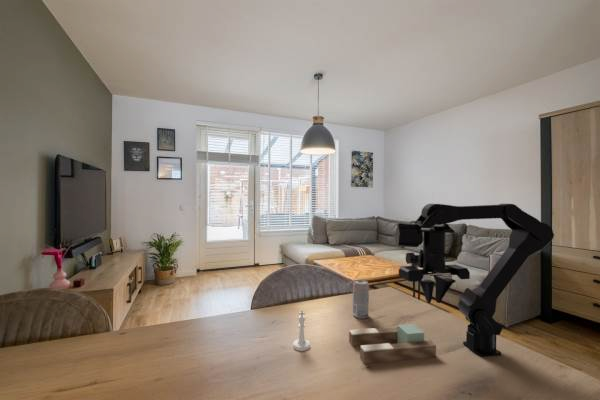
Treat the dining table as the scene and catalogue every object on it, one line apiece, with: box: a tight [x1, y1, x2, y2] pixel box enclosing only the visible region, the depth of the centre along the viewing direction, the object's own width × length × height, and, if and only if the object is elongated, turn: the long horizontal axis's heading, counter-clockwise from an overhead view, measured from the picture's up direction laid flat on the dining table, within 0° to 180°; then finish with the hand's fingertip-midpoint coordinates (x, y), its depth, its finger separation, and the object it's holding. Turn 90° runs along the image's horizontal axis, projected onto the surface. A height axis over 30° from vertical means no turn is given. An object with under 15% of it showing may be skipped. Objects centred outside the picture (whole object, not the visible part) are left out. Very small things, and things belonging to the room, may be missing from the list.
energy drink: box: [352, 279, 370, 320], centre depth 94 cm, size 5×5×12 cm
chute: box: [348, 326, 437, 365], centre depth 73 cm, size 20×11×3 cm, turn 100°
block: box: [396, 323, 425, 344], centre depth 74 cm, size 5×5×5 cm
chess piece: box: [292, 309, 311, 352], centre depth 74 cm, size 5×5×10 cm
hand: (433, 302), depth 75 cm, fingers open, 3 cm apart
